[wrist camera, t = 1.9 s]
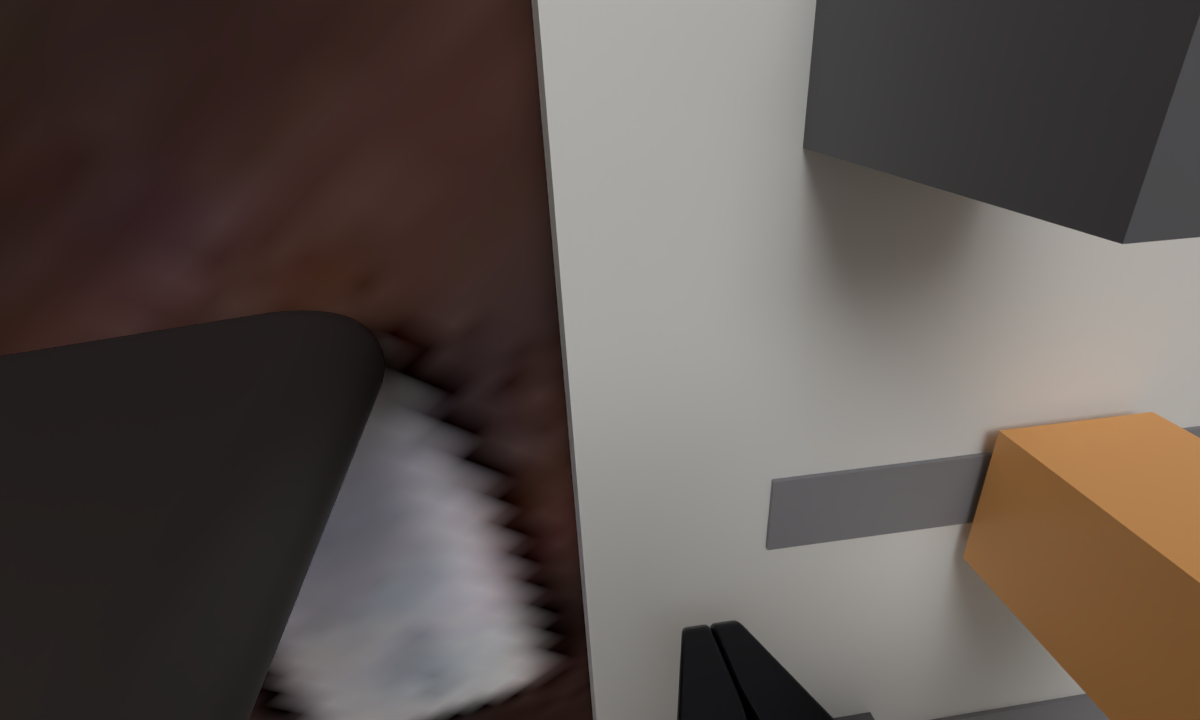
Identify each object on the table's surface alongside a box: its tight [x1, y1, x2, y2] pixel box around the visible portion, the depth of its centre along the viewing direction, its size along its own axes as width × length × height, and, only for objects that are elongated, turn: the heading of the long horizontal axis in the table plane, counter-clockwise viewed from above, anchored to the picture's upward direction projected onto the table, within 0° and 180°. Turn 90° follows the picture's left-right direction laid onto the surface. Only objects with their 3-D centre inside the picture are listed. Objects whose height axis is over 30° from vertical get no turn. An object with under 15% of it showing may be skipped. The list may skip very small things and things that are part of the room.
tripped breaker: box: [963, 412, 1200, 720], centre depth 9 cm, size 3×3×5 cm
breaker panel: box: [531, 0, 1200, 720], centre depth 11 cm, size 18×22×7 cm
